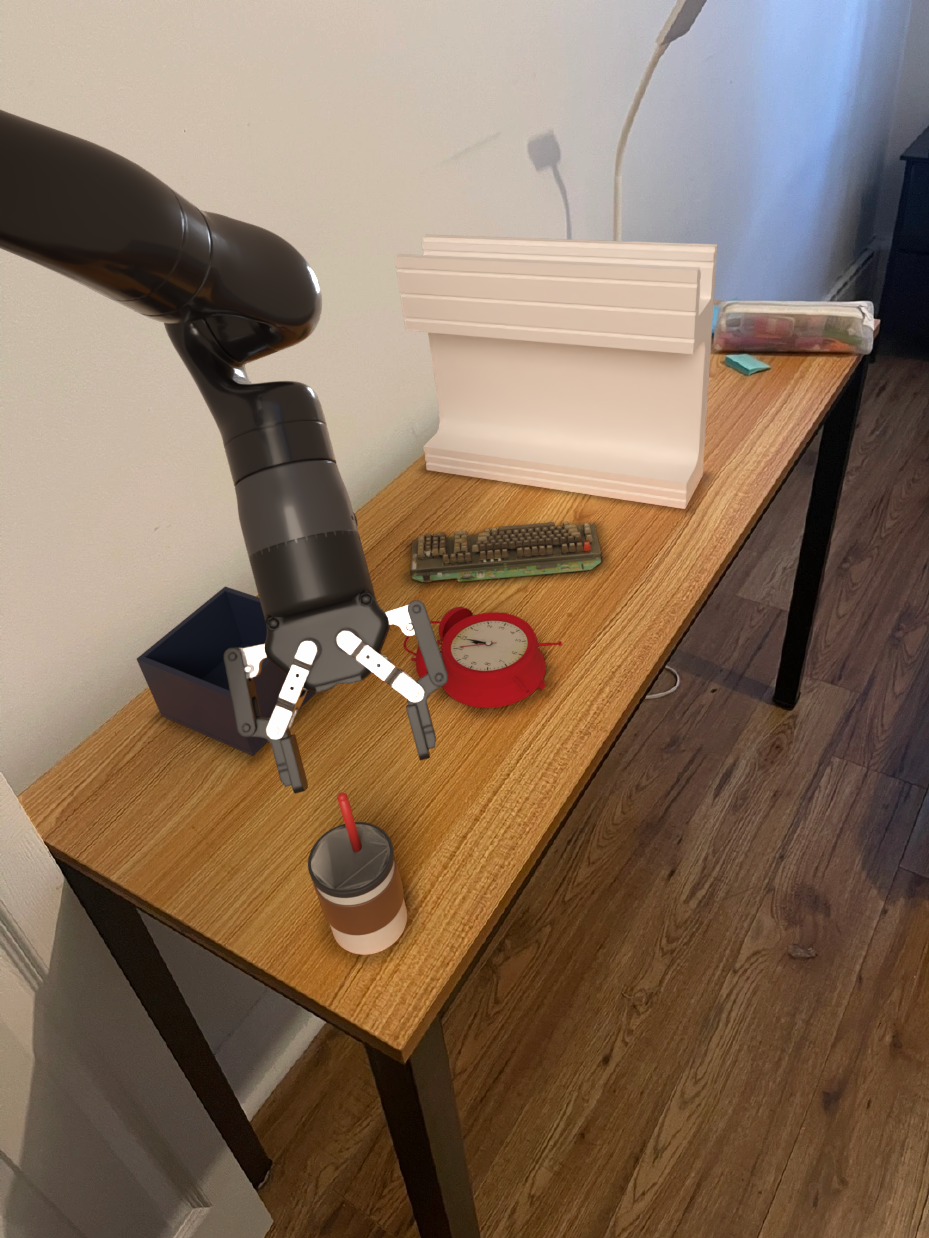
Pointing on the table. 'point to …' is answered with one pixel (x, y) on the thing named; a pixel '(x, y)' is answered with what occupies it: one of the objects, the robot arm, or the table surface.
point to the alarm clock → (487, 658)
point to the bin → (212, 668)
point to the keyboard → (506, 552)
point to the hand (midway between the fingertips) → (363, 774)
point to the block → (567, 361)
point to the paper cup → (358, 884)
